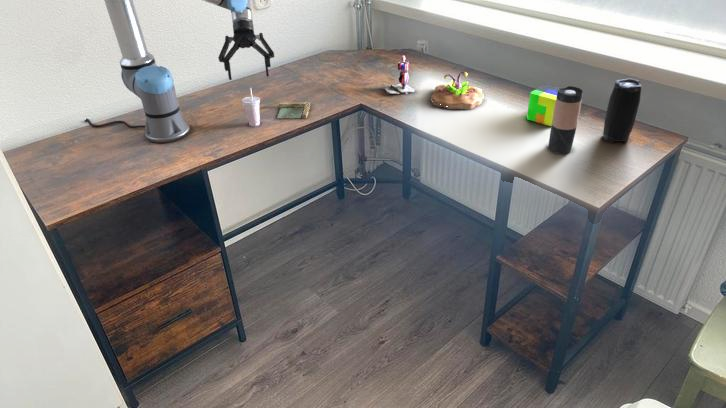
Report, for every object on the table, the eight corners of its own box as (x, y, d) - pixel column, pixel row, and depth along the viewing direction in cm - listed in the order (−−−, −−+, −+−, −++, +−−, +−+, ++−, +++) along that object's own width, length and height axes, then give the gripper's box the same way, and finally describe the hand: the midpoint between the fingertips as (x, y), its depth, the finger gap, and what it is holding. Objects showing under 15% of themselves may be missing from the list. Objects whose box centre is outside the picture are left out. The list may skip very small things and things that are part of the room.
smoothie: (259, 128, 199) (254, 92, 191) (243, 127, 200) (236, 91, 192) (265, 120, 204) (260, 85, 196) (249, 119, 205) (243, 84, 198)
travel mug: (568, 156, 175) (580, 97, 164) (544, 150, 178) (554, 92, 167) (574, 146, 180) (586, 88, 169) (551, 141, 184) (561, 84, 172)
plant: (478, 112, 204) (481, 83, 198) (426, 106, 210) (427, 78, 203) (486, 92, 220) (489, 64, 214) (438, 87, 225) (439, 60, 219)
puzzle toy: (565, 117, 198) (570, 91, 193) (552, 126, 192) (557, 100, 187) (540, 110, 204) (544, 84, 199) (526, 119, 198) (530, 93, 193)
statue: (405, 87, 229) (409, 51, 222) (414, 95, 222) (419, 58, 214) (381, 89, 225) (384, 52, 218) (389, 96, 218) (393, 59, 210)
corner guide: (274, 118, 205) (274, 115, 205) (279, 106, 215) (279, 102, 214) (306, 118, 205) (306, 114, 204) (310, 105, 214) (310, 102, 213)
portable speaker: (595, 138, 184) (608, 82, 173) (611, 129, 189) (624, 75, 178) (619, 147, 179) (634, 90, 168) (634, 138, 184) (649, 82, 173)
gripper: (207, 21, 201) (212, 75, 197) (275, 15, 204) (282, 69, 200) (210, 31, 208) (216, 84, 204) (276, 26, 211) (283, 77, 207)
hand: (248, 76), depth 202 cm, fingers open, 13 cm apart
